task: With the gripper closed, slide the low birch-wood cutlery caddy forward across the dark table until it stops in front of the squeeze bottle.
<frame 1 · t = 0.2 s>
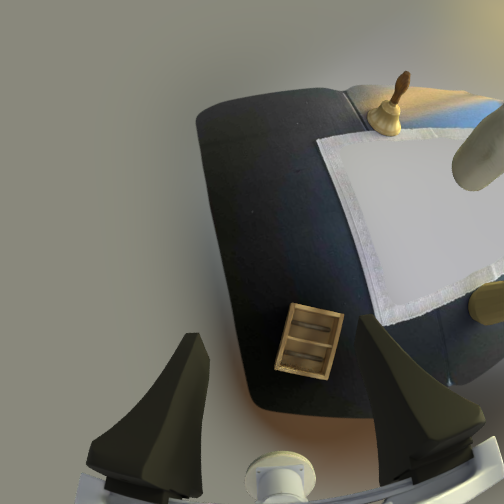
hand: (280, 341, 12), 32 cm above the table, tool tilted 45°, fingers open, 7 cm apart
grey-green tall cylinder: (460, 178, 48), on the table
squeeze bottle: (476, 306, 41), on the table
cutlery caddy: (306, 340, 42), on the table
hand bell: (383, 122, 52), on the table
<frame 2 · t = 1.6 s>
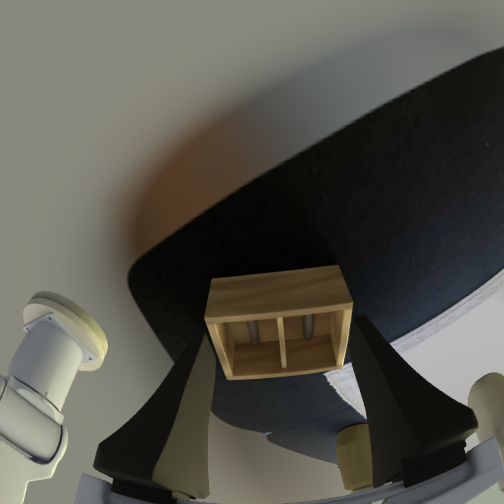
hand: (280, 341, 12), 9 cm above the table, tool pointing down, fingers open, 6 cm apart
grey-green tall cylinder: (480, 378, 36), on the table
squeeze bottle: (353, 428, 41), on the table
cutlery caddy: (279, 309, 24), on the table
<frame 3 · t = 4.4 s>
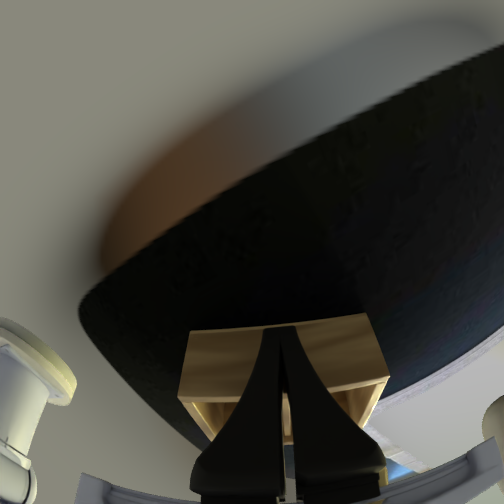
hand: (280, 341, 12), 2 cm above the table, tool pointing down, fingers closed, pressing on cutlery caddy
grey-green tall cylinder: (496, 399, 29), on the table
squeeze bottle: (360, 458, 34), on the table
cutlery caddy: (282, 365, 17), on the table, touching gripper
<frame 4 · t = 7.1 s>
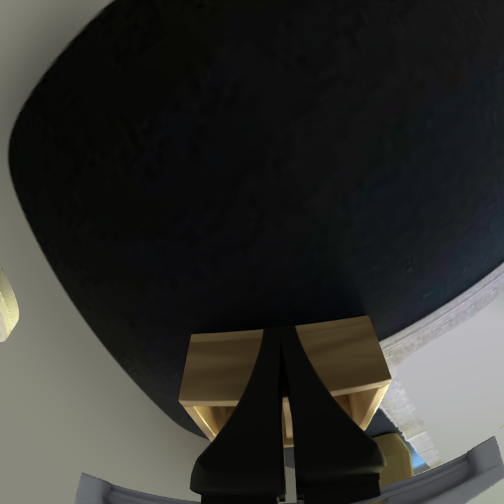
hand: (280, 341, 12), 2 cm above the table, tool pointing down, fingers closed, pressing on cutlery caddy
squeeze bottle: (376, 439, 28), on the table
cutlery caddy: (284, 367, 17), on the table, touching gripper
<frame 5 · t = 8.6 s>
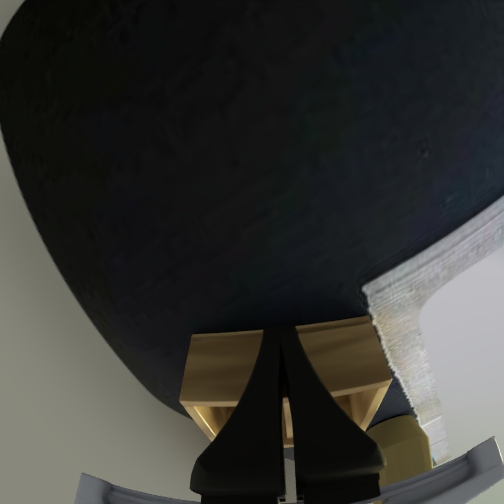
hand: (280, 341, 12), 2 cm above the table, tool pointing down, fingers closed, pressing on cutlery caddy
squeeze bottle: (388, 423, 25), on the table
cutlery caddy: (284, 367, 17), on the table, touching gripper
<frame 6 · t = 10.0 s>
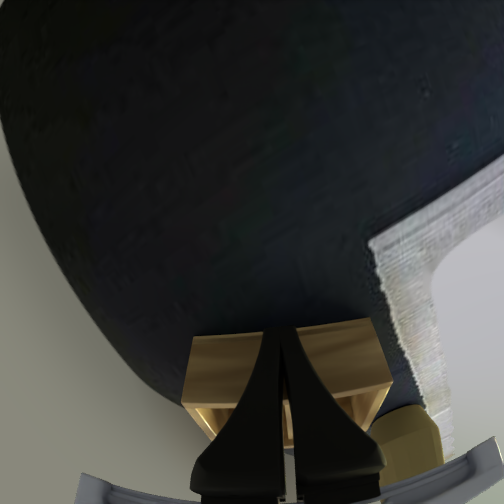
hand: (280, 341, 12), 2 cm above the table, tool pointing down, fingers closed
squeeze bottle: (395, 414, 23), on the table
cutlery caddy: (285, 369, 17), on the table
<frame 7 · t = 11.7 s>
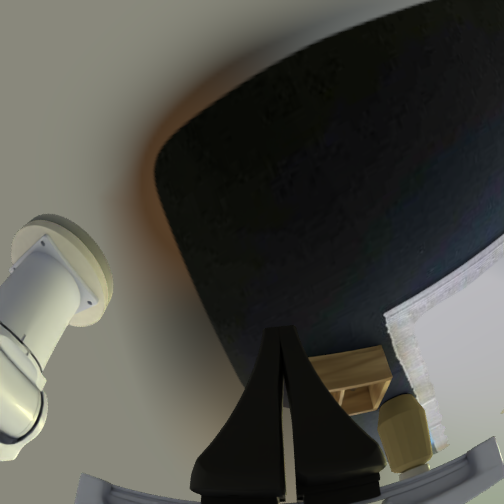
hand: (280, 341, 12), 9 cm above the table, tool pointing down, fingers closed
squeeze bottle: (395, 401, 36), on the table
cutlery caddy: (334, 372, 29), on the table
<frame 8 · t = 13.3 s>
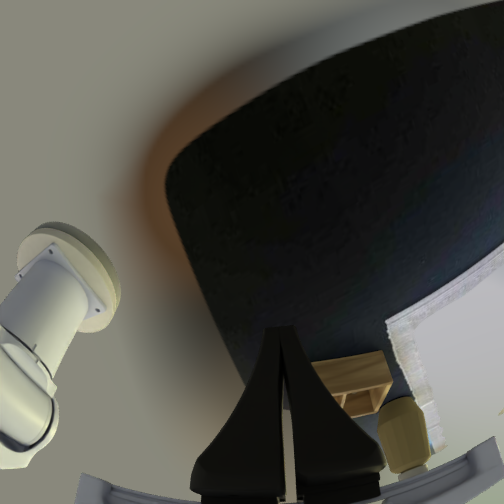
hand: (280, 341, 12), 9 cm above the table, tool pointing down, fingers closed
squeeze bottle: (395, 403, 36), on the table
cutlery caddy: (336, 376, 30), on the table
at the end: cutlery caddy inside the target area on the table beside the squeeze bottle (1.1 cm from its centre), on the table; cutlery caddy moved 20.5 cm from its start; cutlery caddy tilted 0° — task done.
